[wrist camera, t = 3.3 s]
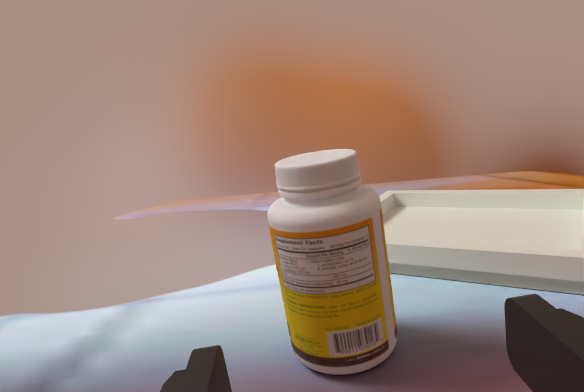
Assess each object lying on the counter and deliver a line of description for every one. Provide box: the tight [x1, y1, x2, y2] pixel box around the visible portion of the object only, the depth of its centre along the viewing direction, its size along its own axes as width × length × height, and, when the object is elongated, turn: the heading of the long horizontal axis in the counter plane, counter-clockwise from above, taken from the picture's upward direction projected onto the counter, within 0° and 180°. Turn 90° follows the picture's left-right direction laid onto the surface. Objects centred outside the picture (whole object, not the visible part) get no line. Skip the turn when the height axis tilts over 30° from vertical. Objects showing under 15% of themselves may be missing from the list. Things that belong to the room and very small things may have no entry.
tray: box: [379, 189, 584, 295], centre depth 34 cm, size 18×14×2 cm
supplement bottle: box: [267, 149, 397, 375], centre depth 22 cm, size 6×6×10 cm
